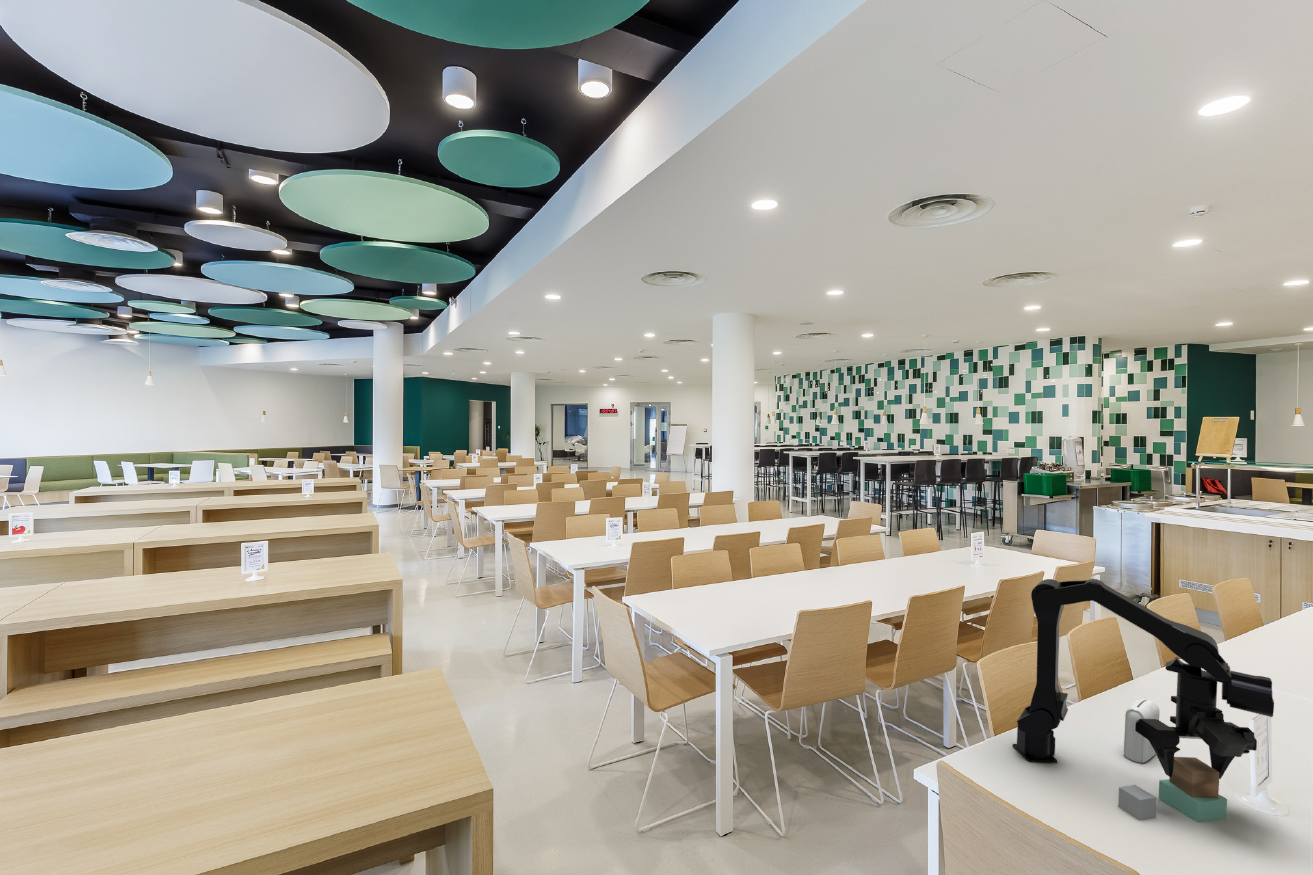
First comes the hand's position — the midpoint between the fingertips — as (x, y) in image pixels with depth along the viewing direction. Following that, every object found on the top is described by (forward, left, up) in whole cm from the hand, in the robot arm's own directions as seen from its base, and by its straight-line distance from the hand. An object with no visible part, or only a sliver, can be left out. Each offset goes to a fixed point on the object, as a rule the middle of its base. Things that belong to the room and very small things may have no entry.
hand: (1192, 776), depth 114 cm
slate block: (-12, -2, -6) cm, 14 cm away
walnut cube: (0, 0, -2) cm, 3 cm away
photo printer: (+5, +19, -6) cm, 21 cm away
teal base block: (0, 0, -6) cm, 6 cm away
